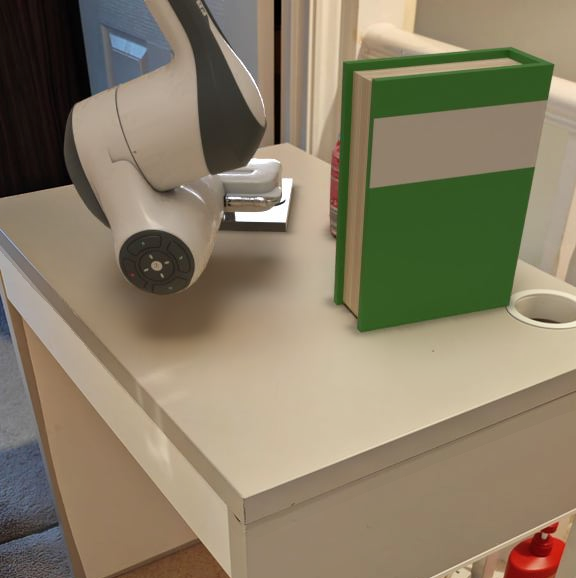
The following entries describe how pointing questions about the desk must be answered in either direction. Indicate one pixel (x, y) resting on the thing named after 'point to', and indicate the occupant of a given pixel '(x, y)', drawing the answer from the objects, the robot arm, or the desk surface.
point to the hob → (261, 215)
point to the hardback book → (435, 181)
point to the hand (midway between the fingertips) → (200, 159)
